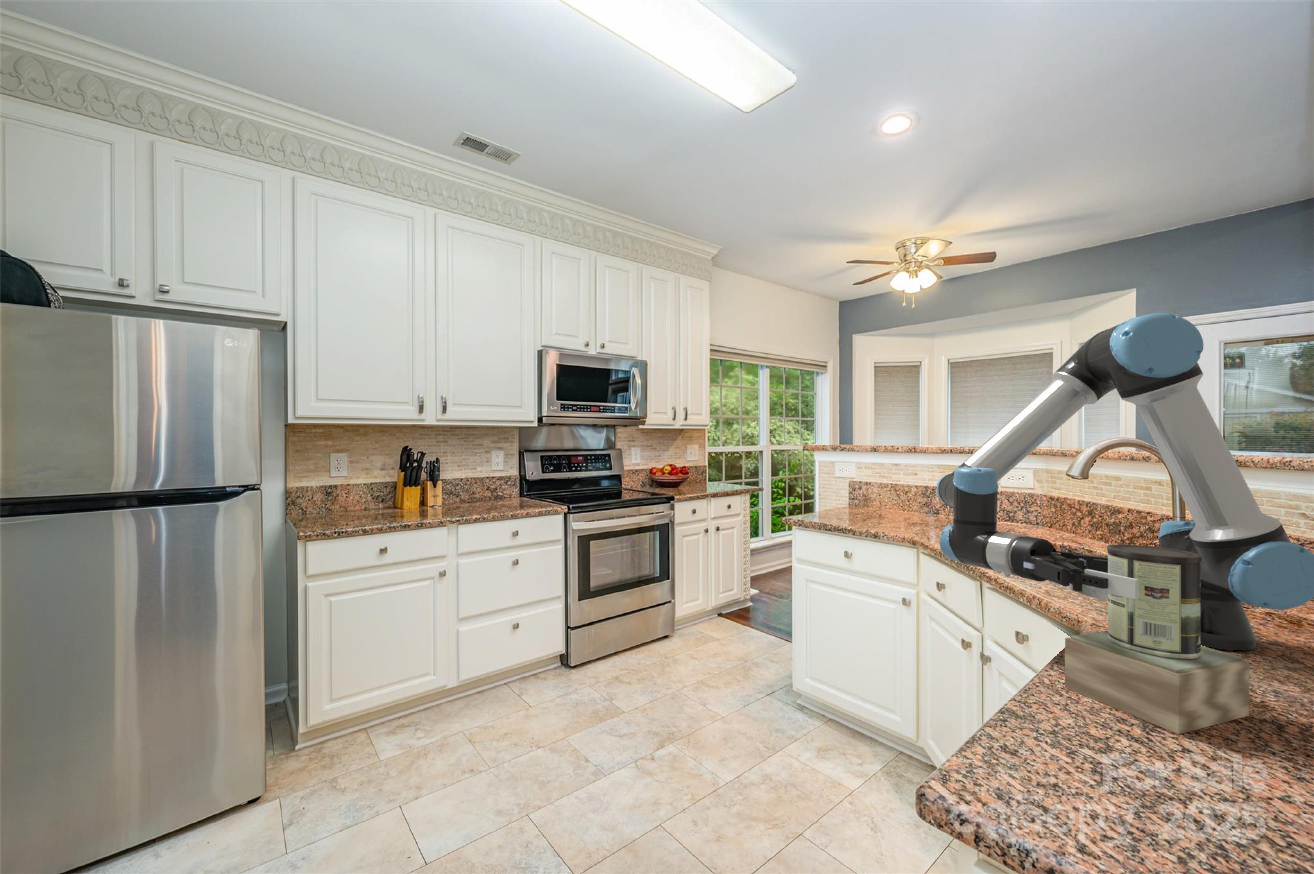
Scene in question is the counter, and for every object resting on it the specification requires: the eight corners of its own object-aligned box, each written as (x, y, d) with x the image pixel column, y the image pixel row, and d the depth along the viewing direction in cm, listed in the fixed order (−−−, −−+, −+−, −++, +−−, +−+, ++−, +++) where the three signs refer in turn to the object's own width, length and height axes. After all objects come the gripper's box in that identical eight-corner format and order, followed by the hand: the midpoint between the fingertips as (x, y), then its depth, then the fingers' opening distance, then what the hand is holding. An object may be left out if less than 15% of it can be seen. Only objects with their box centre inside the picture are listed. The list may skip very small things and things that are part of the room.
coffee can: (1166, 637, 83) (1167, 545, 83) (1222, 663, 73) (1222, 559, 73) (1090, 631, 85) (1091, 542, 85) (1134, 655, 75) (1135, 554, 75)
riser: (1131, 674, 88) (1131, 625, 88) (1249, 715, 75) (1249, 658, 75) (1064, 687, 83) (1065, 635, 83) (1178, 734, 69) (1178, 672, 70)
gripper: (1068, 572, 102) (1217, 604, 82) (971, 581, 93) (1110, 620, 73) (1069, 533, 102) (1217, 555, 82) (972, 538, 93) (1110, 564, 73)
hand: (1167, 586), depth 77 cm, fingers open, 13 cm apart
